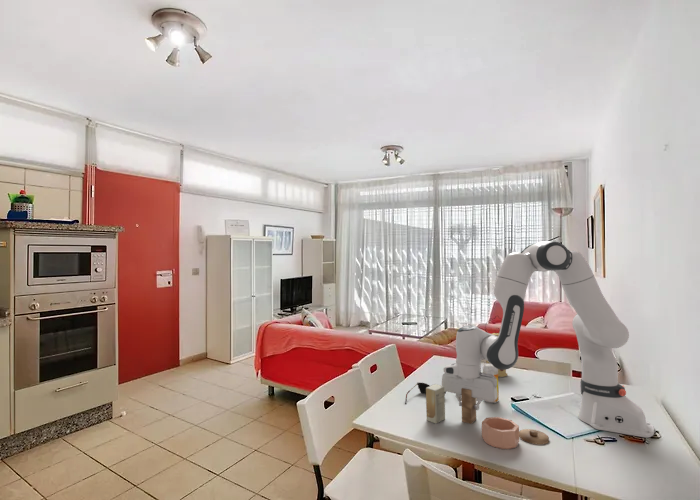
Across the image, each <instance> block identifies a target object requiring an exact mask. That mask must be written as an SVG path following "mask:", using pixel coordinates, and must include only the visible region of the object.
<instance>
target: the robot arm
mask: <svg viewBox="0 0 700 500" xmlns="http://www.w3.org/2000/svg"><path fill="white" fill-rule="evenodd" d="M548 271H549V272H550V271H553V272H555V274H556V275H557V276H558V279H559V281H560V283H561V286H562V289H563V291H564V294H565V296H566V298H567V301H568V303H569V305H571V307H572V308H573V309H574V311H575V312H576V313H577V314H576V315H575V316H574V317H573V319H572V323H571V324H572V328H573V330H574V332H575V335H576V340H577V344H578V349H579V353H580V360H581V379H580V386H579V387H580V395H581V397H580V398H581V400H580V405H579V410H578V414H577V418H578V419H579V420H580V421H582V422H584V423H585V424H588V425H590V426H591V427H592V428H593V429H595V430H599V431H605V432H611V433H615V434H617V433H618V434H623V435H629V436H635V437H640V438H645V439H646V438H651V437H653V436H654V435H655V428H654V426H653V425H654V424H652V423H651V422H649V421H647V419H646V415H645V412H644V411H643V409H642V408H641V407H640V405H638V404H636V402H634V401H633V400H631V399H630V398H629V397H627V396H626V395H627V390H626V387H625V385H622V384H620V383H619V377H618V376H619V374H618V373H619V372H618V367H619V366H618V361H617V359H616V357H615V355H614V353H613V350H612V349H618V348H623V346H625V345H626V344H627V342H629V341H628V340H629V338H630V332H629V329H628V328H627V326H626V325H625V324H624V323H623V322H622V321H621V320H620V319H619V317H618V316H617V314H616V312H615V311H614V309H612V307H611V305H610V304H609V303H608V301H607V299H606V297H604V294H603V292H602V291H601V288H600V286H599V284H598V281H597V279H596V277H595V274H594V272H593V270H592V268H591V266H590V265H589V262H588V261H587V260H586V258H585V256H584V255H583V254H582V253H581V252H579V251H577V250H569V249H568V248H567V246H565V245H564V244H562V242H559V241H555V240H547V241H539V242H536V243H532V244H530V245H527V246H526V247H525V248H524V249H523V250H522V251H520V252H516V251H515V252H511V253H508V254H507V255H506V256H505V258H504V259H503V261H502V263H501V265H500V268H499V270H498V273H497V275H496V278H495V281H494V286H493V287H494V288H493V294H494V297H495V299H496V300H497V301H498V303H499V305H500V306H501V308H502V318H501V319H502V320H501V323H500V325H501V326H500V328H499V331H498V333H499V336H495V335H493V334H492V333H490V332H488V331H487V332H486V330H483V329H481V328H479V327H478V326H477V325H473V324H472V325H464V326H461V327H460V328H458V330H457V331H456V335H455V336H456V338H455V351H456V358H455V362H453V363H450V364H447V365H445V366H444V367H443V369H442V370H443V374H442V376H441V386H444V391H446V393H447V392H448V393H452V394H455V397H456V399H457V401H458V406H459V407H462V394H461V389H462V388H464V389H469V390H471V393H472V397H473V398H476V404H474V410H476V411H479V410H480V404H481V403H482V401H485V400H486V401H491V402H494V401H495V400H496V399H497V398H498V393H497V379H496V377H494V376H493V375H492V374H486V373H483V371H482V366H481V365H482V361H486V360H487V361H488V362H489V363H491V364H492V365H493V366H494V367H495V368H497V369H500V370H506V371H507V370H509V369H511V368H512V367H515V365H516V363H517V362H518V359H519V345H518V343H519V338H520V337H519V336H520V332H521V326H522V324H523V323H522V322H523V317H524V312H525V297H526V293H527V289H528V285H529V283H530V278H531V277H532V275H533V274H534V273H535V272H545V273H546V272H548ZM493 377H494V378H493ZM486 401H485V402H486Z"/></svg>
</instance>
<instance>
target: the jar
mask: <svg viewBox="0 0 700 500" xmlns="http://www.w3.org/2000/svg"><path fill="white" fill-rule="evenodd" d="M519 431H520V426H519V424H517V423H516V422H515V421H513V420H512V419H510V418H509V419H507V418H504V417H500V416H495V417H493V416H492V417H485V418H484V420H482V422H481V438H482V439H483V440H482V441H484V443H486V444H487V445H489V446H490V447H494V448H497V449H499V450H500V449H501V450H511V449H516V448H517V447H518V446H519V442H520V437H519Z"/></svg>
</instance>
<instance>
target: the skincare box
mask: <svg viewBox="0 0 700 500" xmlns="http://www.w3.org/2000/svg"><path fill="white" fill-rule="evenodd" d="M425 396H426V397H425V404H426V407H425V408H426V421H428V422H430V423H433V424H436V425H437V424H438V423H439V422H442V421H444V420H445V419H446V404H445V403H446V401H445V399H446V398H445V396H446V394H445V393H444V386H442V384H437V383H434V384H431V385H430V386H429V387H427V388H426V394H425Z"/></svg>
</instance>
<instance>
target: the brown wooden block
mask: <svg viewBox="0 0 700 500" xmlns="http://www.w3.org/2000/svg"><path fill="white" fill-rule="evenodd" d="M461 394H462V395H461V398H462V406H461V422H463V423H466V424H469V425H472V424H473V423H474V422H475V421H476V420H477V410H474V404H477V401H476V398H473V397H472V393H471V390H469V389H464V388H462V389H461Z"/></svg>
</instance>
